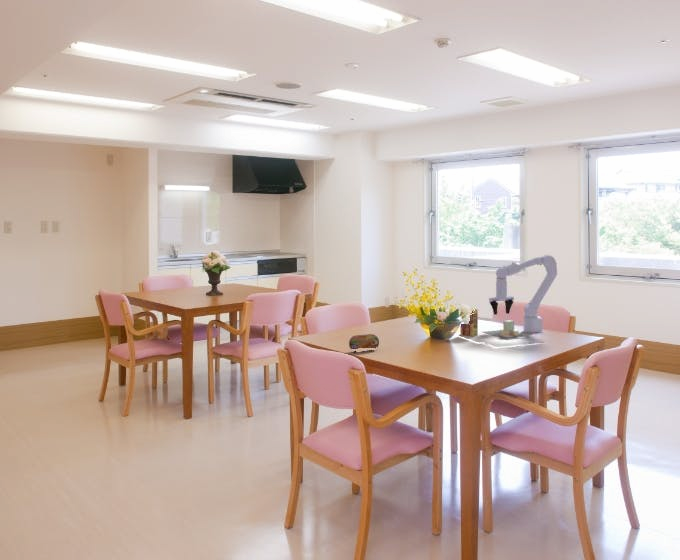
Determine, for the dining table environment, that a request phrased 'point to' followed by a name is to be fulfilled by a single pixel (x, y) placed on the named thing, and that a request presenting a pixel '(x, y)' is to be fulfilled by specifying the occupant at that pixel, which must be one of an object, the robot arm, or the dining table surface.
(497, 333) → the slate mat
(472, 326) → the candy box
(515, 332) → the cream base block
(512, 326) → the sage block
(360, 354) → the dining table surface
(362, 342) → the tin
